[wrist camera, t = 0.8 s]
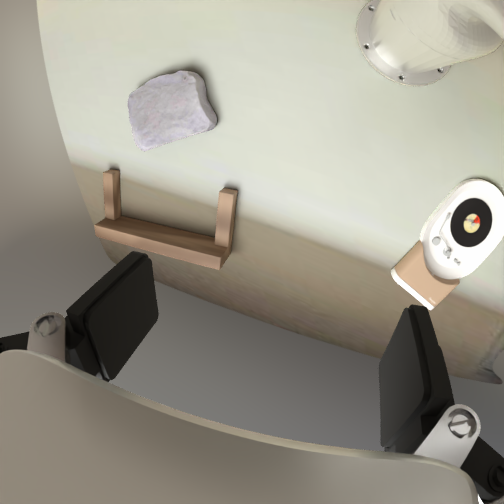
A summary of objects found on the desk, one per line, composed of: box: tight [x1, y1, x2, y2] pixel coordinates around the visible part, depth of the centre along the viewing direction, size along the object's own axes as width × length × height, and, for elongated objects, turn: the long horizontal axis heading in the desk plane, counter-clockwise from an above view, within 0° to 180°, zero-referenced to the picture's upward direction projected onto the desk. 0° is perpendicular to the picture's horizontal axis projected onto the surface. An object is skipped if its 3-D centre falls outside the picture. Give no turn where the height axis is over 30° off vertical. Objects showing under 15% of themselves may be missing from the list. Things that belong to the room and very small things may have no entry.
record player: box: [391, 179, 504, 310], centre depth 35 cm, size 12×3×20 cm
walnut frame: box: [95, 169, 238, 270], centre depth 44 cm, size 10×22×5 cm, turn 82°
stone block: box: [128, 70, 217, 151], centre depth 37 cm, size 12×5×10 cm
